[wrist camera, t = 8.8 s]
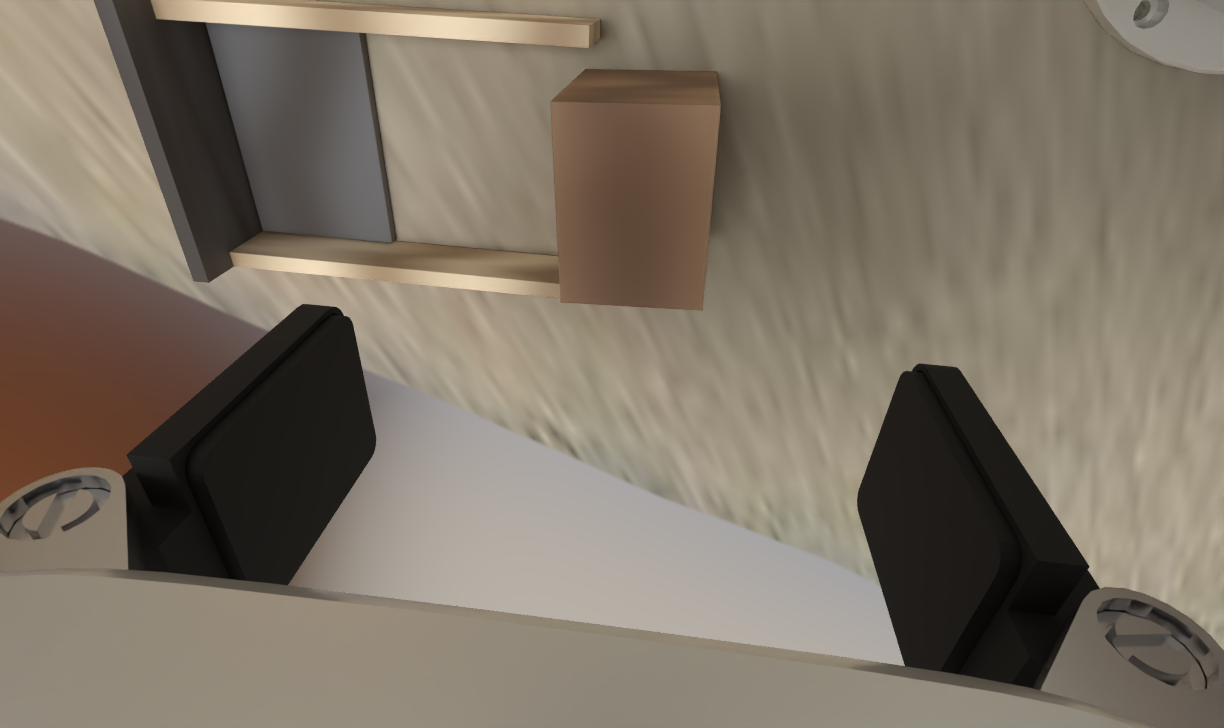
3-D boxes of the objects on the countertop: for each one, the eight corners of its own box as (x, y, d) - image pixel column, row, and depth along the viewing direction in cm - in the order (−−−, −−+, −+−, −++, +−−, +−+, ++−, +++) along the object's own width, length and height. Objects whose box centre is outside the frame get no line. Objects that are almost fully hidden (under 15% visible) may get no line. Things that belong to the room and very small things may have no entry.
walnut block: (716, 71, 21) (720, 105, 16) (702, 238, 24) (702, 310, 19) (585, 68, 22) (550, 101, 17) (589, 233, 25) (560, 302, 20)
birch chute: (600, 19, 21) (581, 30, 17) (592, 272, 26) (576, 319, 22) (186, -8, 22) (93, -2, 18) (257, 241, 27) (193, 280, 23)
